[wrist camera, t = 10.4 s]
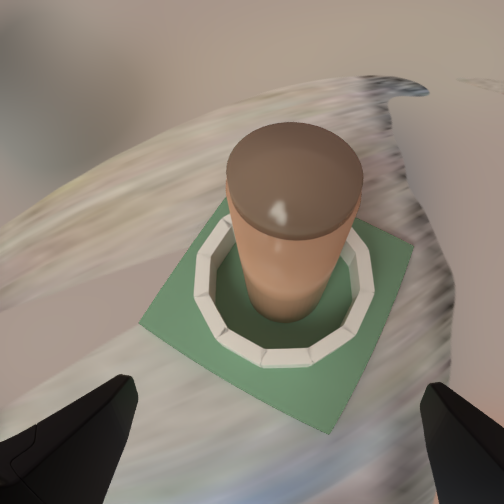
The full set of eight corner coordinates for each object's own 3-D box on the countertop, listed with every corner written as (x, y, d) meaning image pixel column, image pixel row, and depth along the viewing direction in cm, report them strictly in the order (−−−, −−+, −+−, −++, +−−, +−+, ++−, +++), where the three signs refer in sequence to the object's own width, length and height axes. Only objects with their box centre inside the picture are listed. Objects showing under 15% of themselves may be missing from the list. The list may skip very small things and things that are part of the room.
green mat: (411, 249, 25) (414, 246, 24) (327, 433, 19) (329, 434, 19) (246, 174, 29) (245, 170, 28) (141, 325, 24) (138, 323, 23)
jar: (336, 300, 23) (395, 193, 11) (269, 336, 22) (265, 257, 10) (298, 241, 25) (314, 106, 13) (234, 272, 24) (200, 148, 12)
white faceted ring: (385, 255, 24) (395, 240, 22) (318, 397, 20) (323, 397, 18) (254, 194, 27) (252, 175, 25) (172, 315, 23) (161, 305, 21)
